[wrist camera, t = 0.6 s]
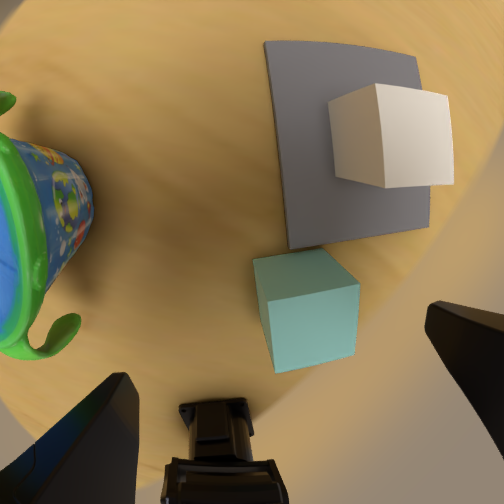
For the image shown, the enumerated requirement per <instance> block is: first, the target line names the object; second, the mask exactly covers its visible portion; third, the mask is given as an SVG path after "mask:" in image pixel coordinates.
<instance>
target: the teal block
mask: <svg viewBox="0 0 504 504" xmlns="http://www.w3.org/2000/svg"><path fill="white" fill-rule="evenodd" d="M253 266H254V274H255V282H256V289H257V297H258V305H259V312H260V320H261V324H262V327H263V331H264V335H265V338H266V342H267V345H268V349H269V353H270V356H271V360H272V363H273V367H274V371H275V374H276V373H282V372H286V371H291V370H296V369H301V368H305V367H309V366H314V365H318V364H322V363H326V362H330V361H334V360H337V359H341V358H344V357H348V356H352V355H354V353H355V344H356V335H357V324H358V312H359V297H360V283H359V282H358V281H357V280H356V279H355V278H354V277H353V276H352V275H351V274H350V273H349V272H348V271H347V270H346V269H344V268H343V267H342V266H341V265H340V264H339V263H338V262H337V261H336V260H335V259H334V258H333V257H332V256H331V255H329V254H328V253H327V252H326V251H325V250H324V249H323V248H319V249H313V250H307V251H301V252H294V253H288V254H282V255H276V256H270V257H263V258H257V259H253Z"/></svg>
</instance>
